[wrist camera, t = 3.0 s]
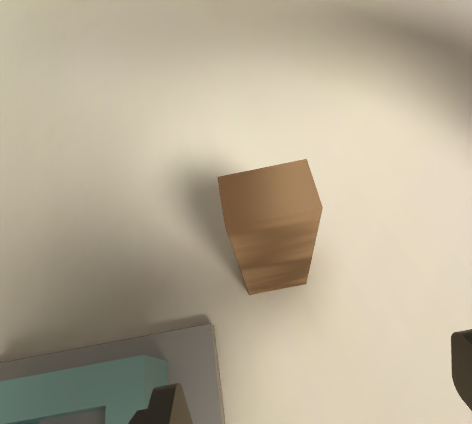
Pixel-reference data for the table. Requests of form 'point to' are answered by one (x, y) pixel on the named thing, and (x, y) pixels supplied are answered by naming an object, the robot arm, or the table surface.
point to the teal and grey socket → (114, 380)
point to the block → (272, 223)
